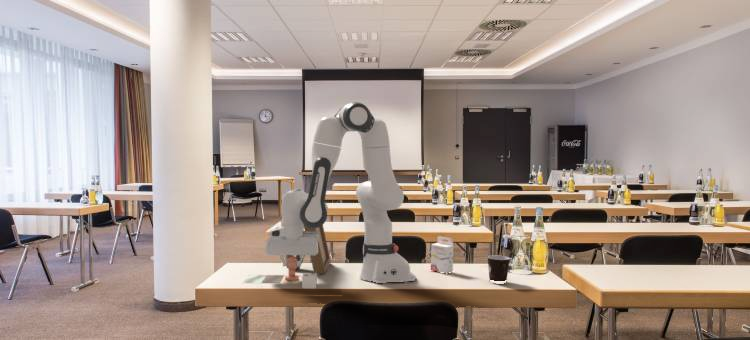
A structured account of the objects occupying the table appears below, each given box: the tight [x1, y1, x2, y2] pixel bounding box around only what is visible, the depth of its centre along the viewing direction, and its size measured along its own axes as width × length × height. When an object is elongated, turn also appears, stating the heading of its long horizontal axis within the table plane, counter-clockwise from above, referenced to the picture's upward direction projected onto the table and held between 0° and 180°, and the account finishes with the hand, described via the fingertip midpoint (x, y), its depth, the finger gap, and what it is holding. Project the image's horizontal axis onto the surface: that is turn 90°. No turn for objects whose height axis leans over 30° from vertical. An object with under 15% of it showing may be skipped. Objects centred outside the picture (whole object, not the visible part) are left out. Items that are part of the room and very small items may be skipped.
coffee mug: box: [487, 254, 511, 281], centre depth 196 cm, size 12×9×10 cm
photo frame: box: [294, 224, 332, 275], centre depth 214 cm, size 15×22×25 cm
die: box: [301, 272, 318, 289], centre depth 185 cm, size 5×5×5 cm
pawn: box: [284, 255, 299, 281], centre depth 195 cm, size 5×5×9 cm
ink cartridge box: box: [430, 235, 454, 274], centre depth 213 cm, size 9×5×15 cm, turn 49°
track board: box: [242, 274, 303, 284], centre depth 195 cm, size 23×14×1 cm, turn 92°
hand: (291, 266), depth 195 cm, fingers closed on pawn, 4 cm apart
